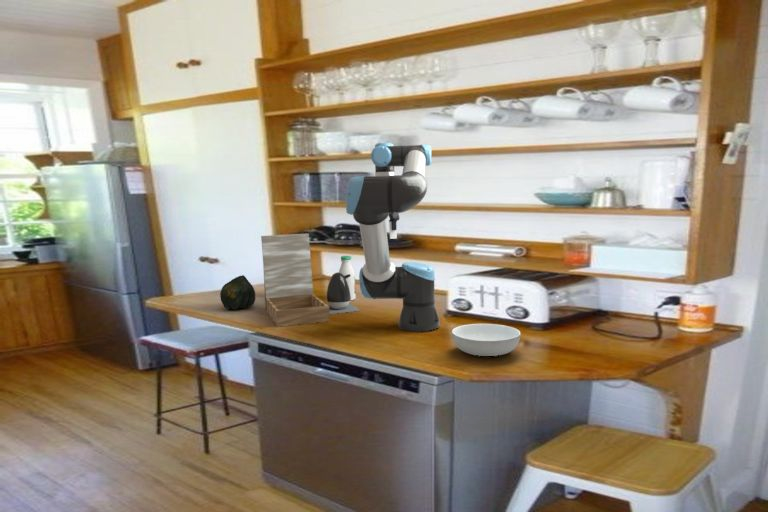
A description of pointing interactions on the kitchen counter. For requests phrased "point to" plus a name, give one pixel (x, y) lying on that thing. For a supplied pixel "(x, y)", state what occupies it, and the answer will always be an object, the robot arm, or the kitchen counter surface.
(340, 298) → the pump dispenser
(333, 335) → the kitchen counter surface
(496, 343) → the serving bowl
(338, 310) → the slate mat
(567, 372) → the kitchen counter surface
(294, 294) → the box
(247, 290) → the squash
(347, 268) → the milk bottle
